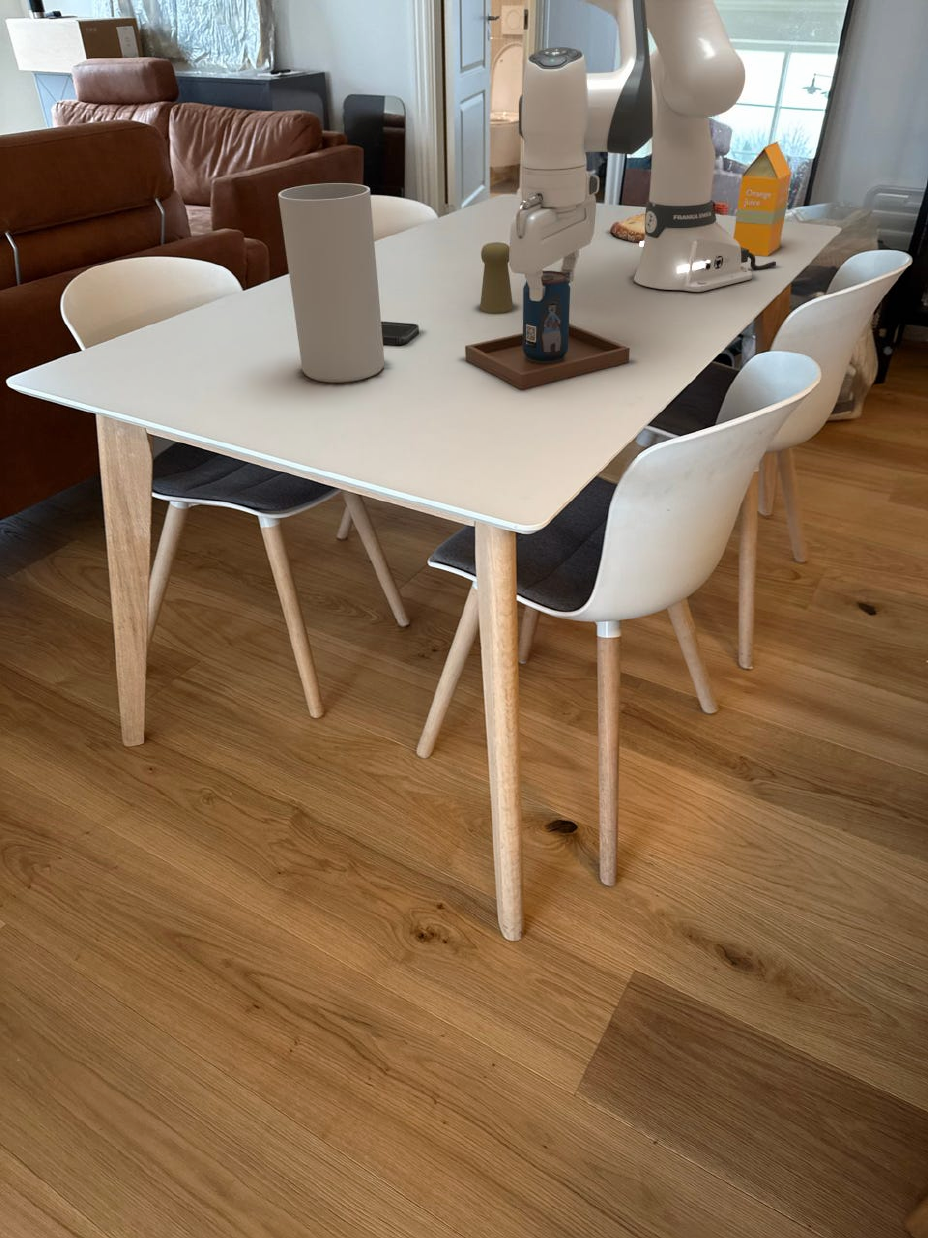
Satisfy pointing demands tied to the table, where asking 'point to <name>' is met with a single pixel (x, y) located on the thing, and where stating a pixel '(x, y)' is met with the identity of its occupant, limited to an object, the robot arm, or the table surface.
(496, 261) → the olive pawn
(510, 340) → the tray
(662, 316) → the table surface
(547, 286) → the soda can
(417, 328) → the phone
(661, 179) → the robot arm
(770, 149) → the orange juice
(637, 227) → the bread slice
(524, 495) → the table surface
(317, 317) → the cylinder vase
